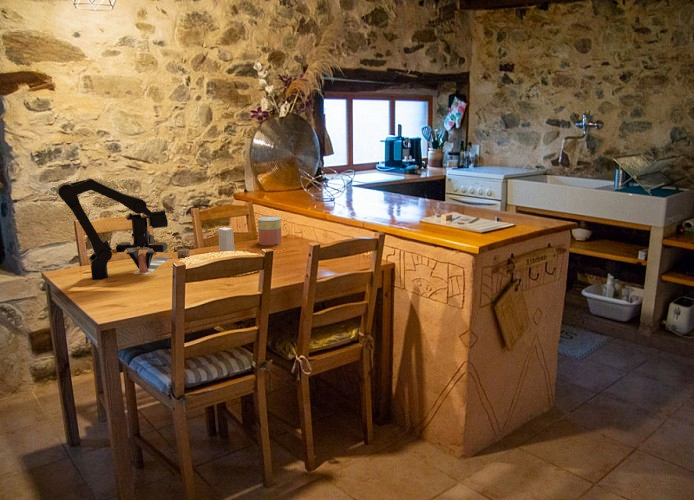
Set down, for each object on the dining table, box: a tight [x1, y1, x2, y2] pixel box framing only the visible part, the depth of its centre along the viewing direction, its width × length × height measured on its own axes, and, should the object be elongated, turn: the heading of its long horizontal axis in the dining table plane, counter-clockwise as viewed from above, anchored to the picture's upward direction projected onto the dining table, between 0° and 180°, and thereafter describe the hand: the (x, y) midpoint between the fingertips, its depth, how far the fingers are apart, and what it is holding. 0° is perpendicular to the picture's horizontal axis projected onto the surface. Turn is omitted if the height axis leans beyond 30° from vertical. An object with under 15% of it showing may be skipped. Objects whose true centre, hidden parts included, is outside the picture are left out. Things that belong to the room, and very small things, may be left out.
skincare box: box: [217, 227, 235, 253], centre depth 257 cm, size 6×4×12 cm
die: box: [177, 248, 190, 260], centre depth 252 cm, size 4×4×4 cm
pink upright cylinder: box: [138, 252, 149, 273], centre depth 227 cm, size 3×3×7 cm
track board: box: [132, 256, 173, 275], centre depth 238 cm, size 27×8×1 cm, turn 179°
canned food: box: [257, 216, 283, 246], centre depth 280 cm, size 11×11×12 cm
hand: (143, 268), depth 228 cm, fingers closed on pink upright cylinder, 3 cm apart
